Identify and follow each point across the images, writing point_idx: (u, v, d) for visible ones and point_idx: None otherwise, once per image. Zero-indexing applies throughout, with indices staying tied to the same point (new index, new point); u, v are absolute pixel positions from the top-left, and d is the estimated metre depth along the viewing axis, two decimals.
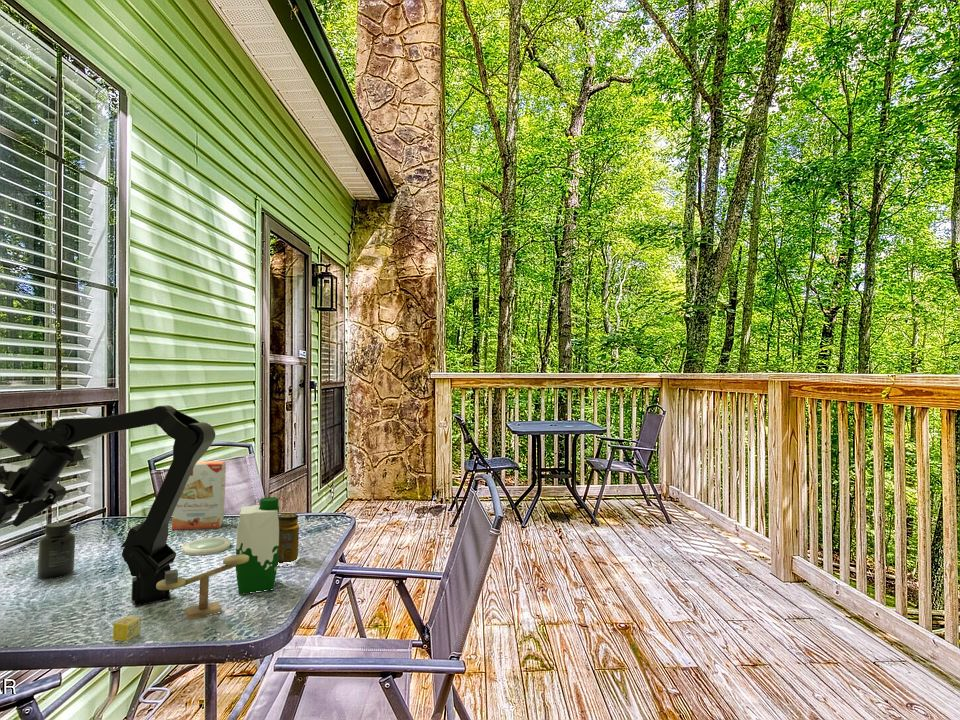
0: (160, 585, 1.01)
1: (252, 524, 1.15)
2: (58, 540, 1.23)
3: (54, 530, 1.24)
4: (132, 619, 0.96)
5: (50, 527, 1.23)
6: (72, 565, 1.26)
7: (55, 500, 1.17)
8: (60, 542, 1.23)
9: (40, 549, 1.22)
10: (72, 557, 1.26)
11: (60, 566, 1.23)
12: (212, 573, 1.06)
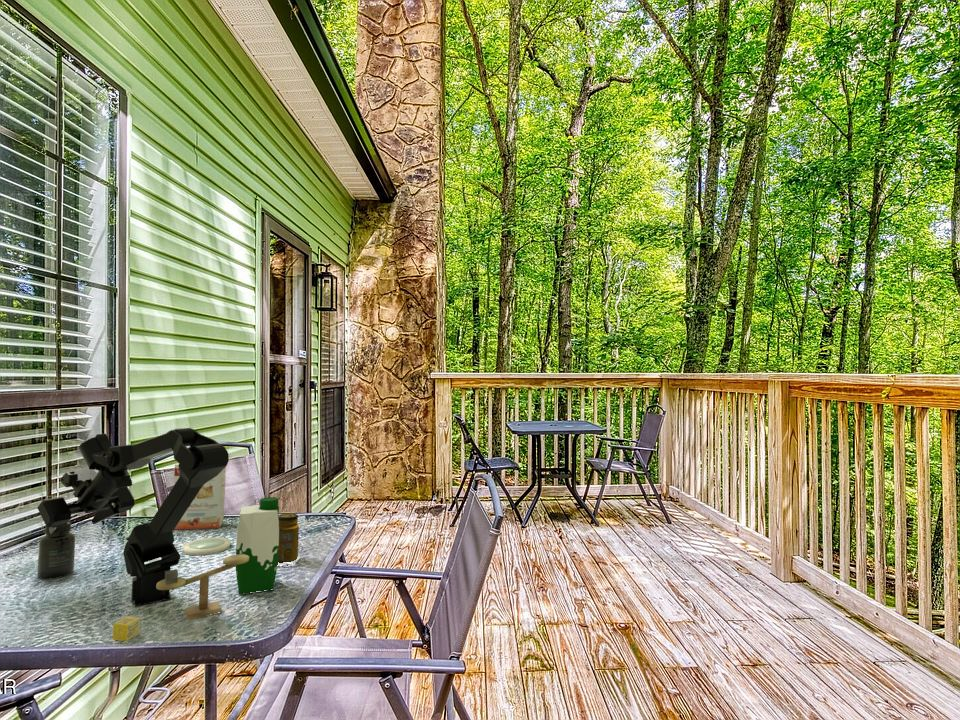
0: (160, 585, 1.01)
1: (252, 524, 1.15)
2: (58, 540, 1.23)
3: None
4: (132, 619, 0.96)
5: None
6: (72, 565, 1.26)
7: (121, 510, 1.27)
8: (60, 543, 1.23)
9: (40, 549, 1.22)
10: (72, 557, 1.26)
11: (60, 566, 1.23)
12: (212, 573, 1.06)
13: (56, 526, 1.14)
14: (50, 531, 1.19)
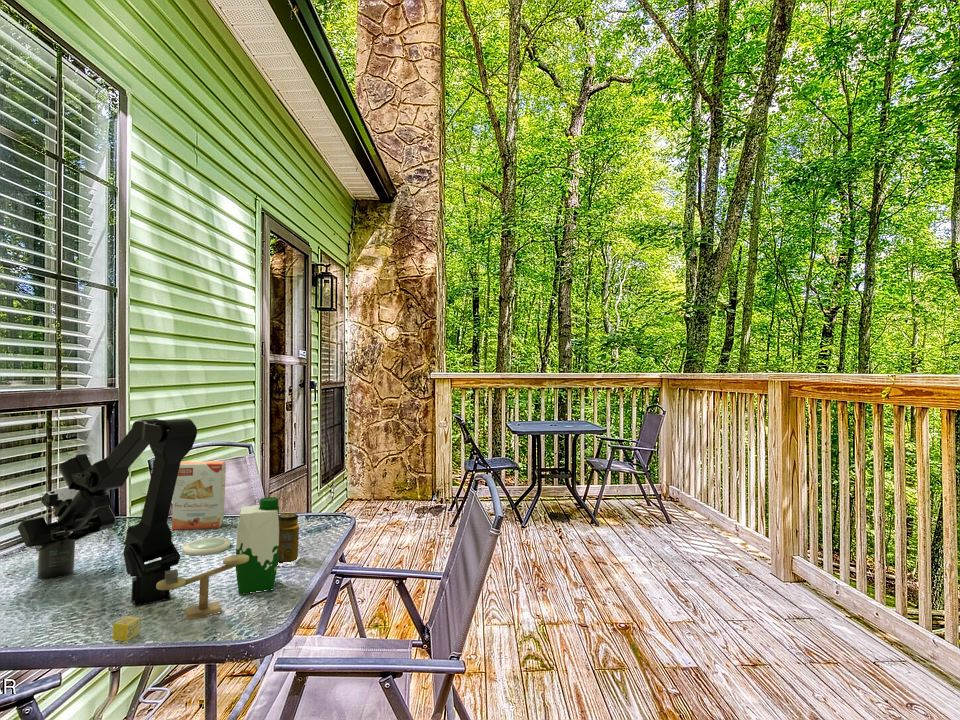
0: (160, 585, 1.01)
1: (252, 524, 1.15)
2: (58, 540, 1.23)
3: None
4: (132, 619, 0.96)
5: None
6: (72, 565, 1.26)
7: (101, 528, 1.29)
8: (60, 542, 1.23)
9: None
10: (72, 557, 1.26)
11: (60, 566, 1.23)
12: (212, 573, 1.06)
13: (42, 544, 1.18)
14: (36, 549, 1.22)
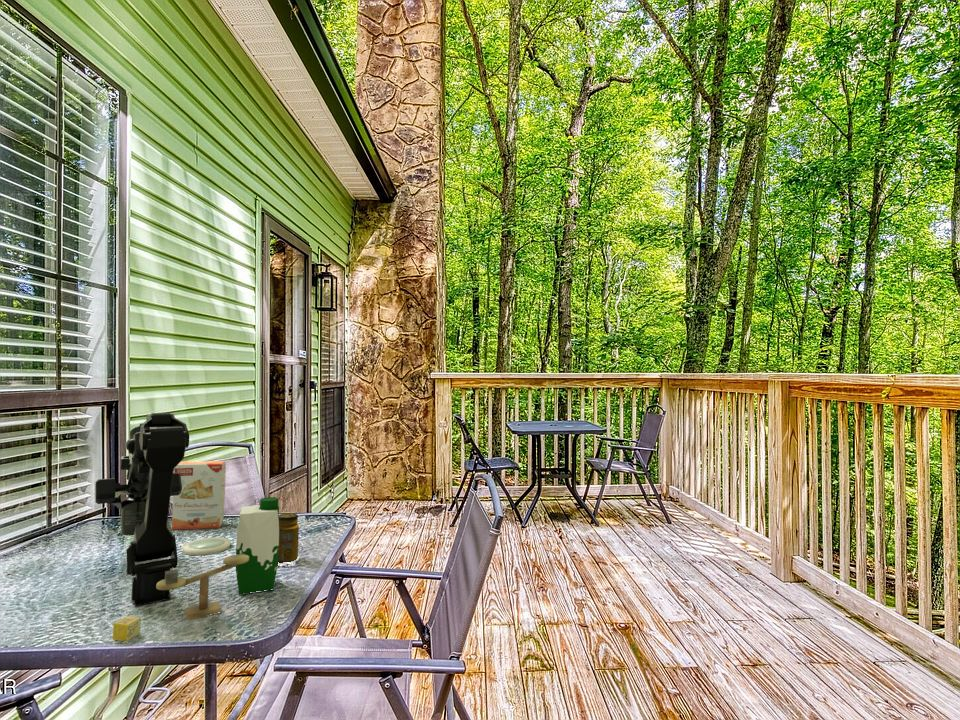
0: (160, 585, 1.01)
1: (252, 524, 1.15)
2: (132, 501, 1.35)
3: None
4: (132, 619, 0.96)
5: None
6: None
7: None
8: (133, 504, 1.35)
9: None
10: None
11: (133, 525, 1.35)
12: (212, 573, 1.06)
13: (110, 503, 1.30)
14: None
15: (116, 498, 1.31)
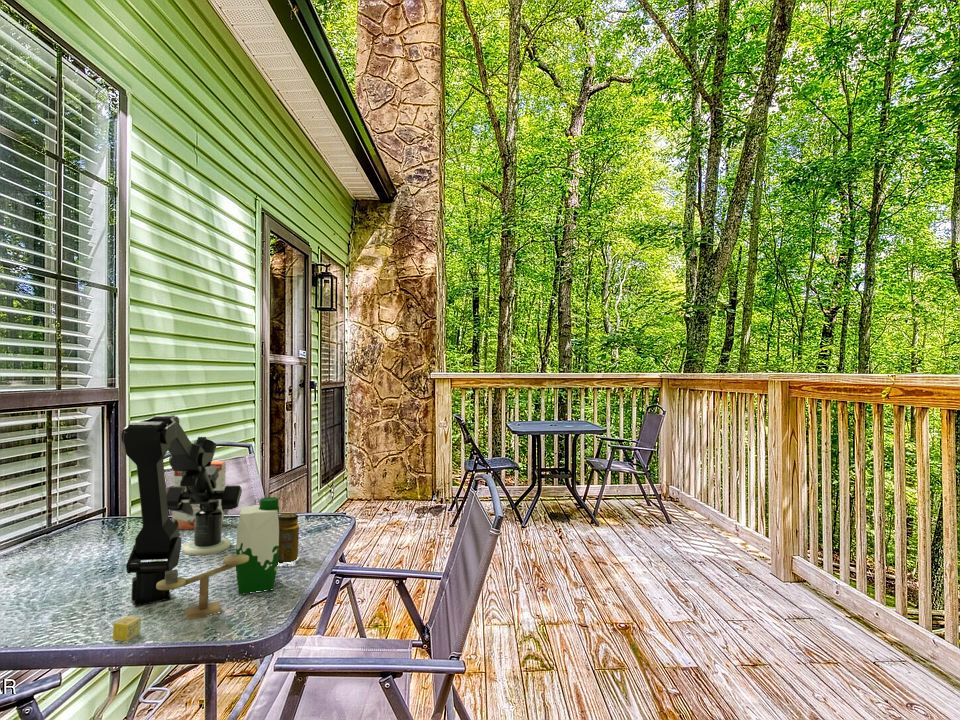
0: (160, 585, 1.01)
1: (252, 524, 1.15)
2: (200, 514, 1.43)
3: (200, 505, 1.45)
4: (132, 619, 0.96)
5: None
6: (212, 539, 1.44)
7: (224, 507, 1.41)
8: (200, 517, 1.43)
9: None
10: (211, 532, 1.44)
11: (200, 537, 1.43)
12: (212, 573, 1.06)
13: (172, 510, 1.40)
14: None
15: None
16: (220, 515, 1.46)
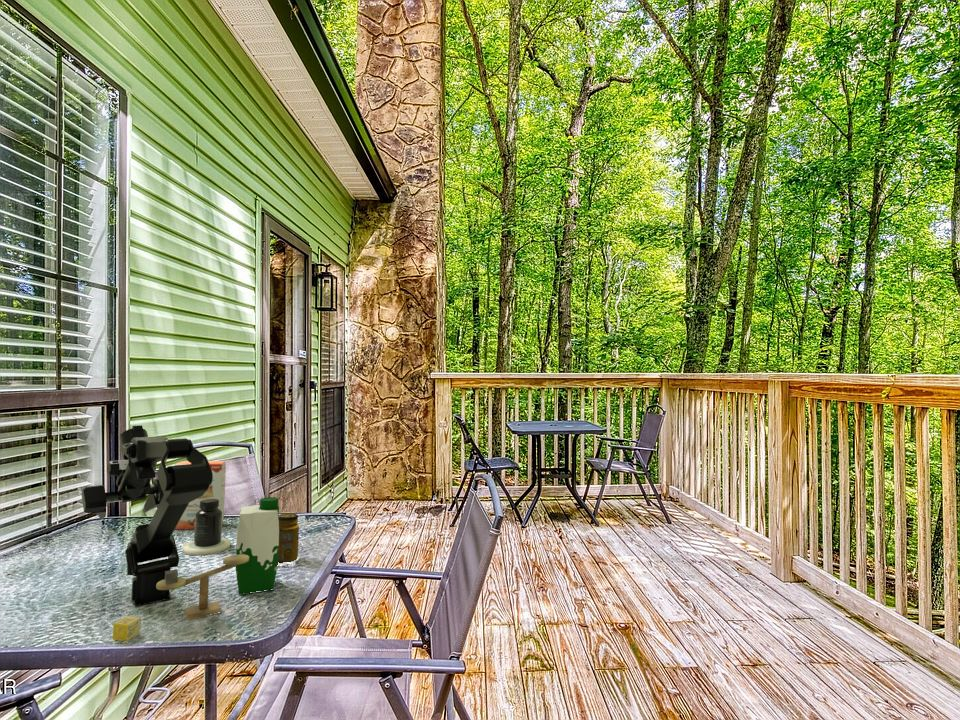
0: (160, 585, 1.01)
1: (252, 524, 1.15)
2: (200, 514, 1.43)
3: (200, 505, 1.45)
4: (132, 619, 0.96)
5: (200, 502, 1.45)
6: (212, 539, 1.44)
7: None
8: (200, 517, 1.43)
9: None
10: (211, 532, 1.44)
11: (200, 537, 1.43)
12: (212, 573, 1.06)
13: (94, 512, 1.20)
14: None
15: None
16: (220, 515, 1.46)
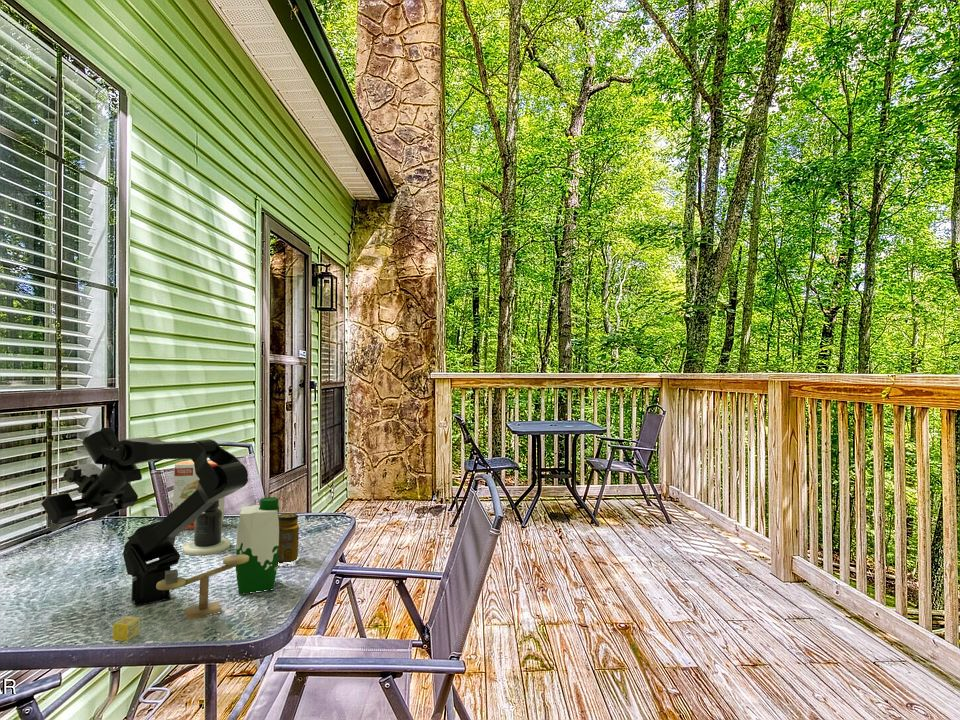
0: (160, 585, 1.01)
1: (252, 524, 1.15)
2: None
3: None
4: (132, 619, 0.96)
5: None
6: (212, 539, 1.44)
7: (124, 506, 1.24)
8: (200, 517, 1.43)
9: None
10: (211, 532, 1.44)
11: (200, 537, 1.43)
12: (212, 573, 1.06)
13: (62, 522, 1.11)
14: (52, 529, 1.15)
15: None
16: (220, 515, 1.46)
